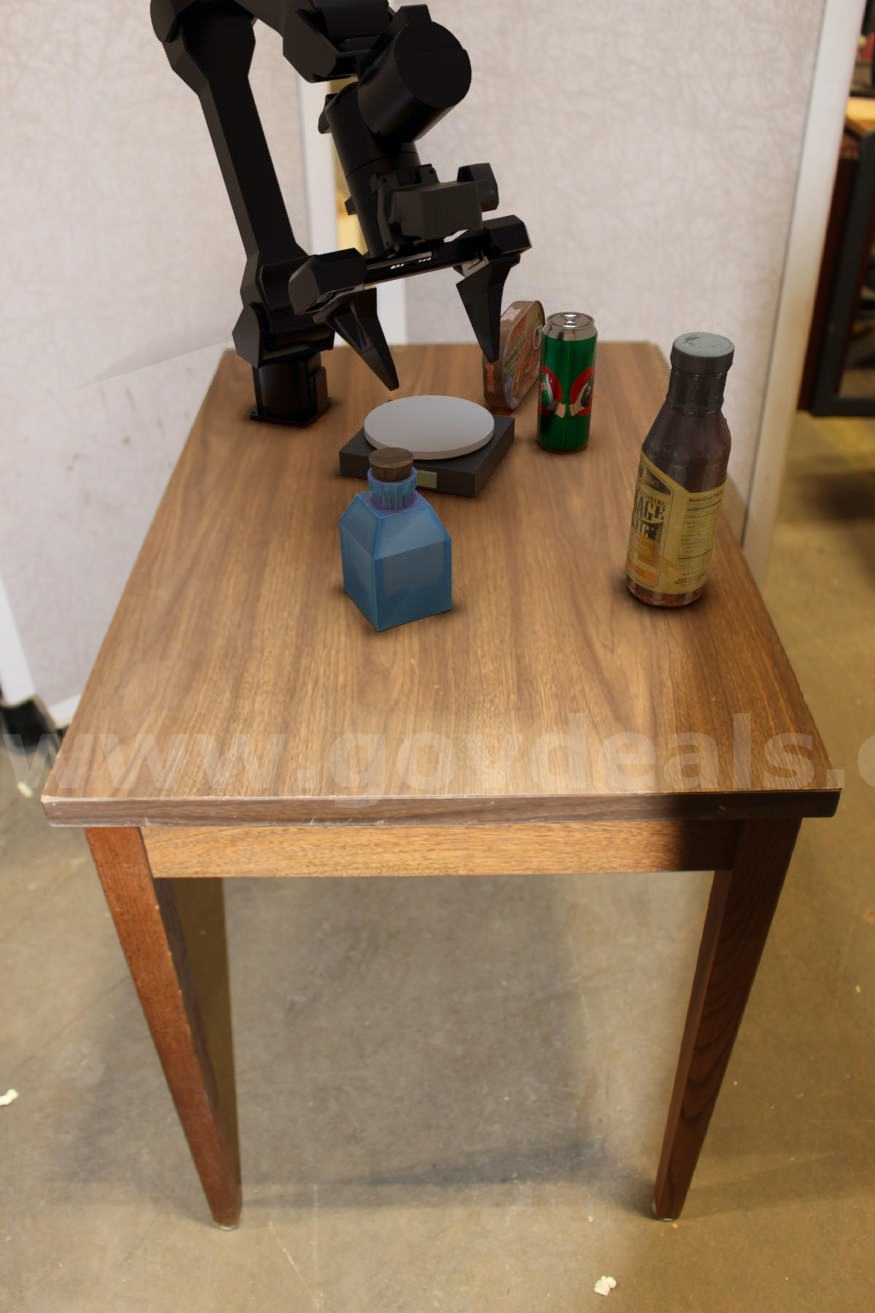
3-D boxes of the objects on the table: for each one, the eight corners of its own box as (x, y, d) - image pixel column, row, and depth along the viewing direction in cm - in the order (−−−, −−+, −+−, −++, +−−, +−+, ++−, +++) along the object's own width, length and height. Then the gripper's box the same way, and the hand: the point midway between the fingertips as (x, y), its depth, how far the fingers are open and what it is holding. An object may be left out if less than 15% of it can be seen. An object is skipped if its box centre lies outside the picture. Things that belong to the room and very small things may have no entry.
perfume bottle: (377, 631, 78) (369, 486, 71) (343, 590, 83) (332, 449, 75) (452, 608, 80) (451, 465, 73) (415, 569, 85) (411, 430, 78)
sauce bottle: (615, 569, 85) (642, 323, 72) (692, 565, 85) (732, 319, 73) (634, 617, 79) (666, 360, 67) (716, 612, 80) (763, 356, 68)
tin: (506, 422, 106) (508, 340, 101) (476, 418, 107) (476, 336, 102) (547, 366, 117) (551, 289, 112) (519, 363, 118) (522, 286, 113)
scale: (338, 476, 97) (335, 440, 95) (390, 421, 107) (388, 387, 104) (473, 499, 94) (473, 462, 92) (514, 440, 103) (515, 405, 101)
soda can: (588, 431, 104) (598, 310, 97) (589, 455, 100) (599, 330, 93) (536, 430, 105) (542, 308, 97) (535, 453, 101) (541, 329, 93)
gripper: (311, 140, 68) (386, 380, 71) (541, 105, 76) (601, 321, 79) (256, 204, 78) (324, 413, 81) (465, 167, 86) (521, 358, 89)
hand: (445, 375), depth 82 cm, fingers open, 9 cm apart
